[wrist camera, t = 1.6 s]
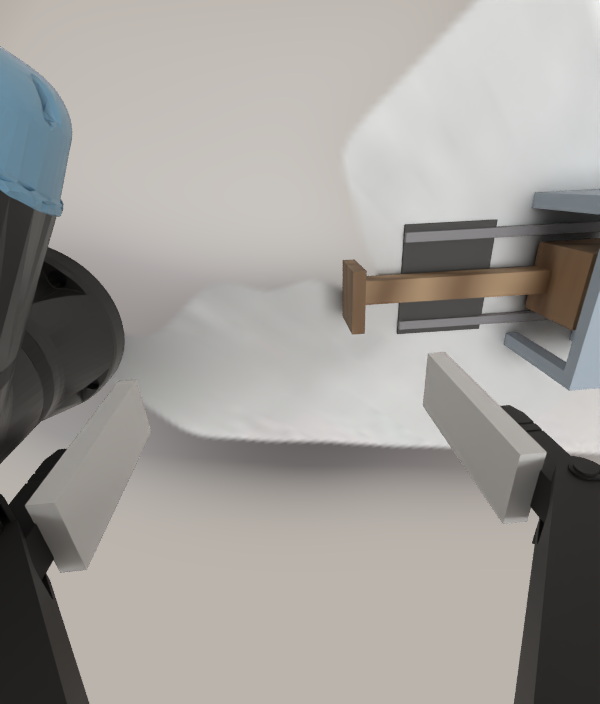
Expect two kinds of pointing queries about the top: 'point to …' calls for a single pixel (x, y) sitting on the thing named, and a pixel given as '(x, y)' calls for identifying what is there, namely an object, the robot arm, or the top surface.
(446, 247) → the dark grey flat plate
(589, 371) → the tunnel
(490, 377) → the top surface
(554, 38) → the top surface
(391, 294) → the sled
